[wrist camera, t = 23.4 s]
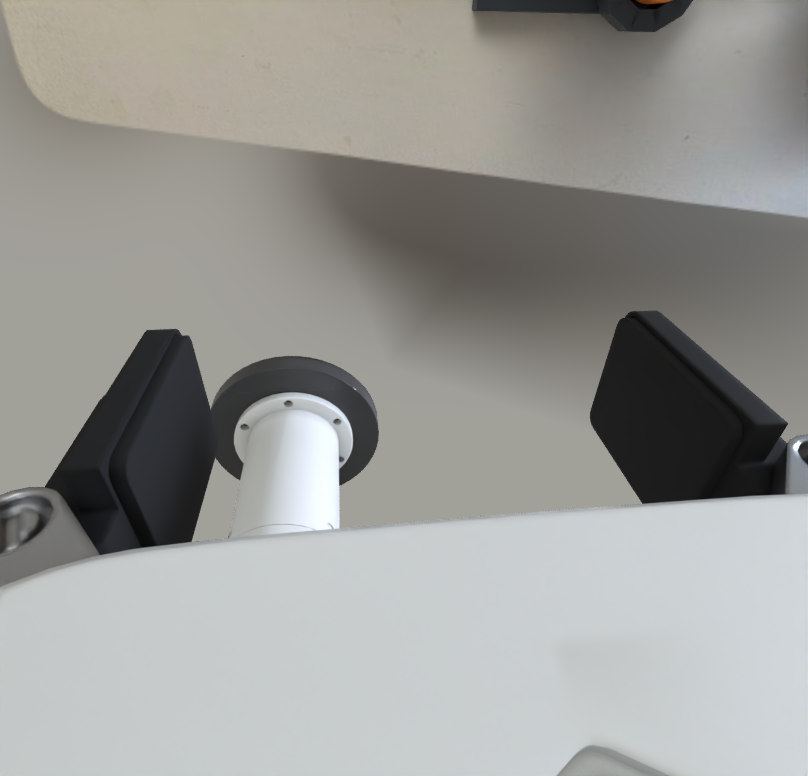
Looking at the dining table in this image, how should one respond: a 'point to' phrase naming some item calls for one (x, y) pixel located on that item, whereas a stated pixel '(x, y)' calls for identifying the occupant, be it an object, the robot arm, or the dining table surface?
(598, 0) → the scale
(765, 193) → the dining table surface
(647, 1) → the button
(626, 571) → the robot arm
